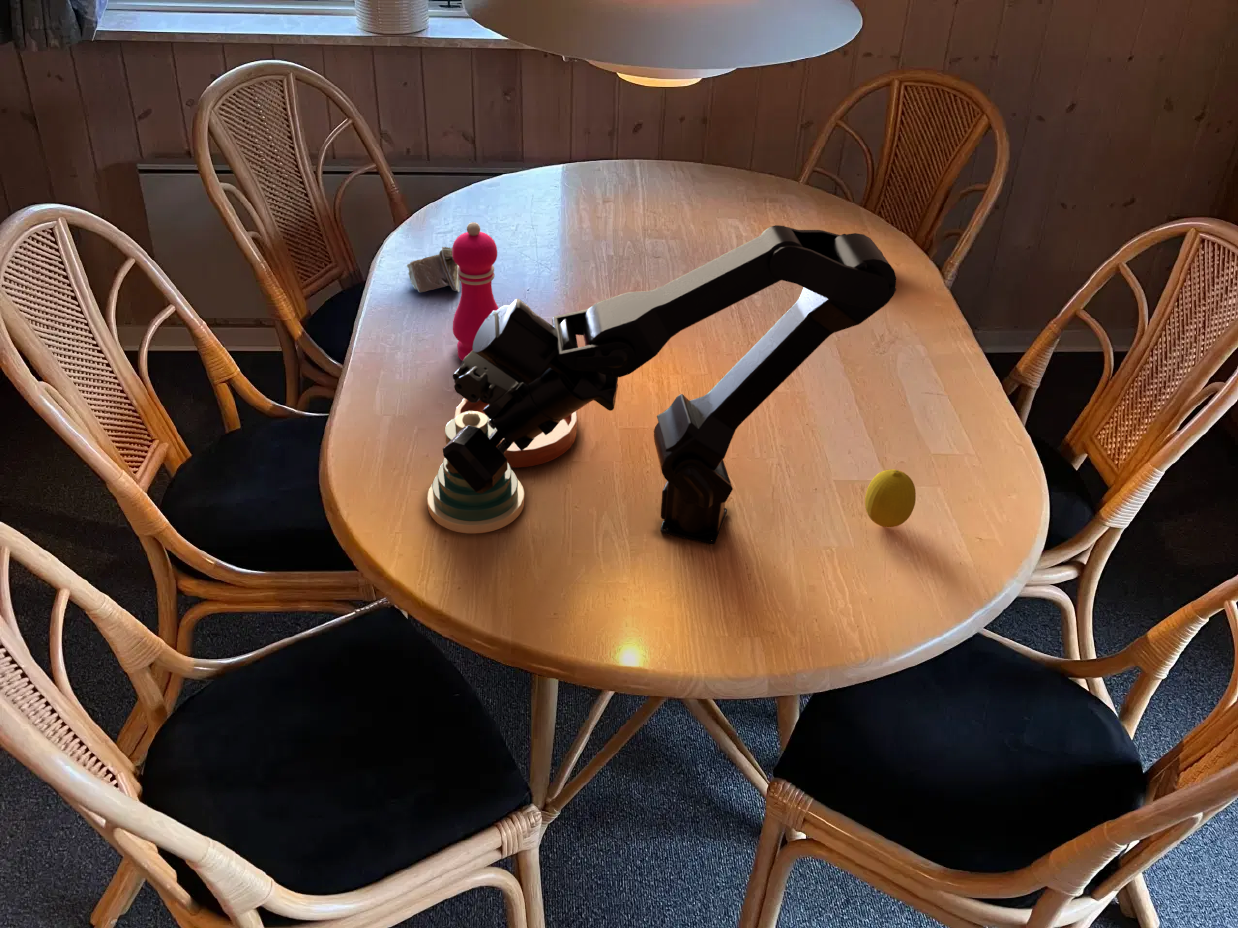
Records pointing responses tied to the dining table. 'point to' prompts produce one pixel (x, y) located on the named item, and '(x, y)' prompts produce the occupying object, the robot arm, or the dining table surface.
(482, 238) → the pepper mill
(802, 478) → the dining table surface
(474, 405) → the tagine base
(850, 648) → the dining table surface
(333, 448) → the dining table surface
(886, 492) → the lemon
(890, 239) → the dining table surface
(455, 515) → the tagine lid
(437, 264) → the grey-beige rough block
